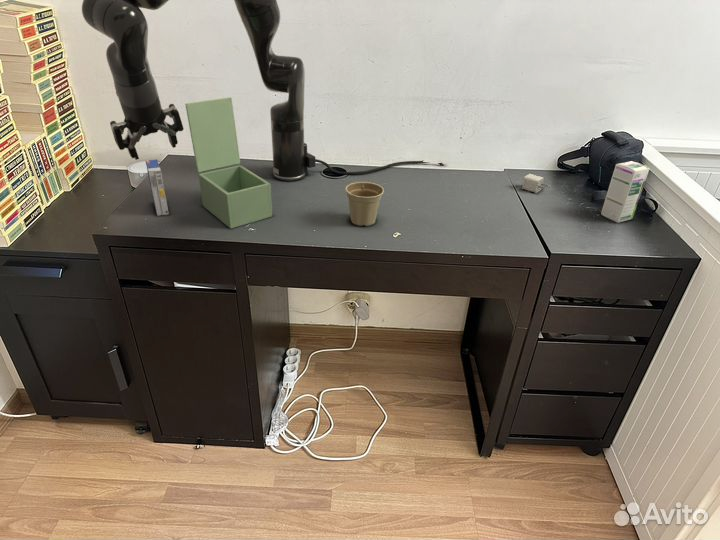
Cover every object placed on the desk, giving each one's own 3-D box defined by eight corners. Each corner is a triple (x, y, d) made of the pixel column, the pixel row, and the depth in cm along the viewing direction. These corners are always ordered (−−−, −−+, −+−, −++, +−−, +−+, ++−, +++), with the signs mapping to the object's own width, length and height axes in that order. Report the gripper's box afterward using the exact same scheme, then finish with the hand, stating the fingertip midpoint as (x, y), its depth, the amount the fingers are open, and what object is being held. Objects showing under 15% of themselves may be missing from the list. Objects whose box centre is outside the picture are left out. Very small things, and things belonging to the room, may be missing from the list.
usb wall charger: (527, 185, 150) (530, 173, 148) (549, 192, 147) (553, 179, 145) (521, 189, 148) (524, 176, 146) (543, 196, 144) (547, 183, 142)
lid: (231, 97, 124) (221, 95, 128) (186, 103, 118) (177, 101, 122) (240, 163, 132) (230, 159, 136) (198, 172, 125) (189, 167, 129)
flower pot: (386, 216, 129) (388, 185, 125) (375, 232, 122) (377, 199, 117) (352, 210, 132) (353, 179, 127) (339, 225, 124) (339, 193, 119)
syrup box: (617, 223, 131) (636, 170, 123) (599, 214, 135) (616, 162, 127) (632, 219, 133) (651, 167, 125) (613, 210, 138) (631, 159, 130)
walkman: (153, 203, 131) (144, 159, 124) (165, 202, 132) (156, 158, 125) (157, 216, 125) (148, 170, 118) (169, 214, 126) (160, 168, 119)
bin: (272, 216, 127) (270, 183, 122) (230, 228, 121) (226, 194, 116) (243, 195, 137) (240, 164, 132) (202, 205, 131) (198, 173, 126)
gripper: (108, 116, 97) (129, 172, 110) (179, 95, 102) (191, 152, 116) (94, 91, 99) (117, 149, 113) (165, 72, 105) (178, 130, 119)
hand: (154, 150), depth 114 cm, fingers open, 8 cm apart
